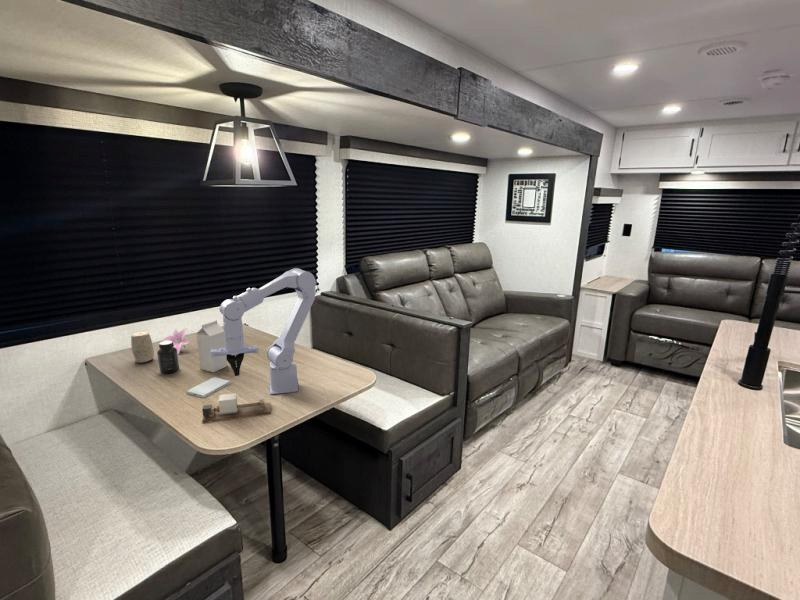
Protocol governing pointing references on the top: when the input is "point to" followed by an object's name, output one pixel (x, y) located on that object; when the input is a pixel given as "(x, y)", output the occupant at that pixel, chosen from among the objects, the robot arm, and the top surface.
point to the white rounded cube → (228, 403)
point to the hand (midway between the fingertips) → (237, 374)
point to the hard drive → (208, 387)
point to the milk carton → (211, 346)
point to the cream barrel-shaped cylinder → (142, 347)
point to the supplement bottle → (168, 358)
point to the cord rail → (243, 411)
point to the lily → (177, 339)
